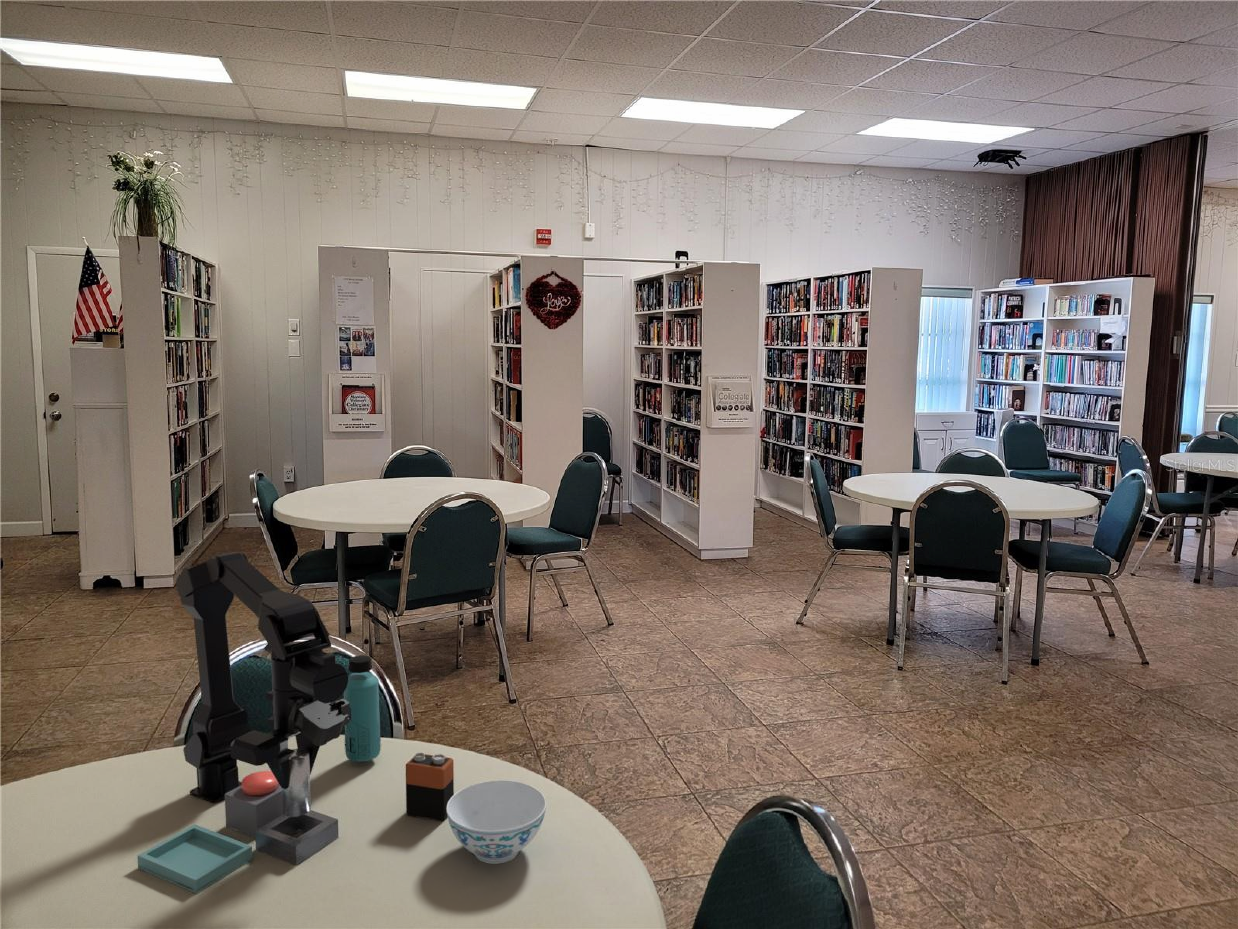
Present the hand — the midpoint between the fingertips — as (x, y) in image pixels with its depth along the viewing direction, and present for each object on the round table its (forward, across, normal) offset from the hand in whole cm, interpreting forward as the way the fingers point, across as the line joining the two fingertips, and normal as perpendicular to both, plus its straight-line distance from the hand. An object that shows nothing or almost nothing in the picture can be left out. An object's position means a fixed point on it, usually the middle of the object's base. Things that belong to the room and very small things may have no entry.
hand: (295, 782), depth 137 cm
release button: (+7, +2, +10) cm, 12 cm away
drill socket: (+10, 0, 0) cm, 10 cm away
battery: (+10, +17, -12) cm, 23 cm away
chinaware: (+10, +13, -28) cm, 32 cm away
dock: (+10, +2, +10) cm, 14 cm away
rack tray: (+10, -11, +9) cm, 17 cm away
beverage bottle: (+10, +25, +10) cm, 29 cm away
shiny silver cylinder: (+4, 0, 0) cm, 4 cm away
